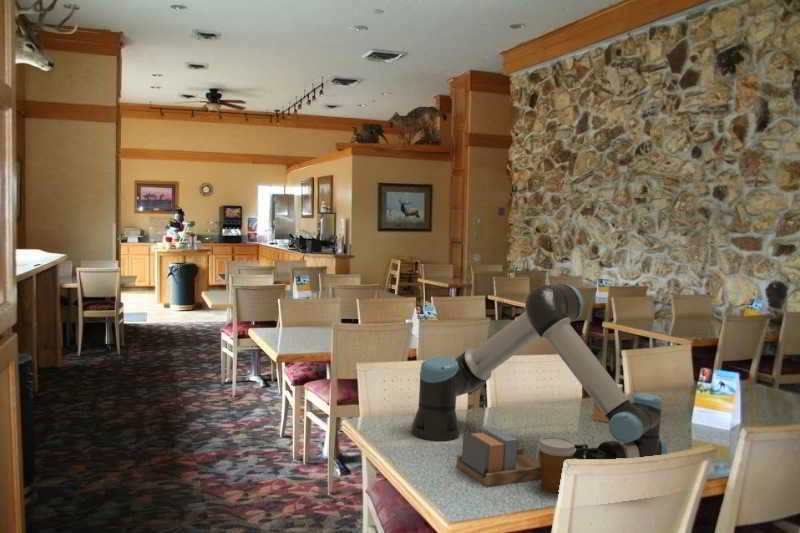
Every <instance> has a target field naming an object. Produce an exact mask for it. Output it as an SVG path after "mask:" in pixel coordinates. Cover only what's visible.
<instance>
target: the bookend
mask: <svg viewBox="0 0 800 533" xmlns="http://www.w3.org/2000/svg"><path fill="white" fill-rule="evenodd" d="M462 433H463V435H462V436H463V437H462V448H461V450H462V452H461V454H462V462H460V463H461V464H462V465H464V466H465V467H467V468H468V469H470V470H471V471H473V472H474V473H476V474H477V475H479V476H480V477H482V478H485V477H486V473H488V466H489V451H490V445H489V444H488V443H486V442H484V441H482V440H481V439H479V438H477V437H475V436H474V435H472V434H473V433H470V432H469V431H463V432H462Z"/></svg>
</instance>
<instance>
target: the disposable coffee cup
mask: <svg viewBox="0 0 800 533" xmlns="http://www.w3.org/2000/svg"><path fill="white" fill-rule="evenodd" d="M574 444H575V443H574V442H573V441H572V440H570V439H567V438H564V437H558V436H544V437H541V438H540V439H539V442H538V443H537V448H538V449H539V452H540V460H539V463H540V470H541V479H540V483H541V485H540V486H541V488H542V489H543V490H544V491H546V492H550V493H554V494H555V493H556V494H559V493H558V490H559V485H560V479H561V473H562V468H563V462H564V460H566V459H574V458H573V455H574V453H575V451H576V448H575V445H576V444H575V445H574Z"/></svg>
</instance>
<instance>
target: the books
mask: <svg viewBox="0 0 800 533" xmlns="http://www.w3.org/2000/svg"><path fill="white" fill-rule="evenodd" d="M471 434H472V435H474V436H475V437H477V438H479V439H481V440H482V441H484V442H486V443H488V444H489V445H490V451H489V466H488V473H493V472H500V471H508V470H515V469H516V456H517V448H518V439H517V438H515V437H513V436H511V435H509V434H507V433H505V432H503V431H502V430H499V429H498V428H497V427H485V428H483V429H482V432H476V433H471Z"/></svg>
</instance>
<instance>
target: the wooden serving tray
mask: <svg viewBox="0 0 800 533" xmlns="http://www.w3.org/2000/svg"><path fill="white" fill-rule="evenodd" d="M524 451H525V448H524V447H517V456H516V469H515V470H508V471H500V472H493V473H486V477H485V478H482V477H480V476H479V475H477V474H476V473H474V472H473V471H471V470H470V469H468V468H467V467H465V466H464V465H462V464H461V463H460V462H462V453H461V454H457V455H456V466H457V468H459V469H460V470H463V471H464V472H465V473H466V474H468V475H470V476H471V477H473V478H474V479H475V480H477V481H479V482H480V483H481V484H482V485H484V486H485V487H494V486H501V485H503V486H504V485H509V484H516V483H522V482H529V481H530V482H531V481H536V480H541V470H540V461H539V460H537V459H534V458H532V457H530V456H528V455H526V454H525V452H524Z"/></svg>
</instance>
